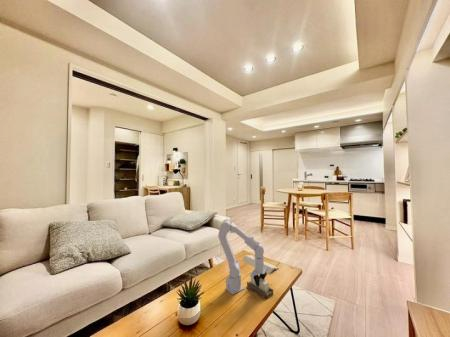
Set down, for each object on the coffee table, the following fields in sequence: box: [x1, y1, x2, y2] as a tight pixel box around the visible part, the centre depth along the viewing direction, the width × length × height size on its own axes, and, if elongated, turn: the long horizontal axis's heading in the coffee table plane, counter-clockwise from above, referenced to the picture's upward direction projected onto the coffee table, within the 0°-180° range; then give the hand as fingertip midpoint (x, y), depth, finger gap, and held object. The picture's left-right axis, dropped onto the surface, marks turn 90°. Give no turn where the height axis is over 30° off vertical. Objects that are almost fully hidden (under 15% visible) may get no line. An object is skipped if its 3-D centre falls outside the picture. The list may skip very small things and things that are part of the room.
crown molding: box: [241, 254, 280, 275], centre depth 154 cm, size 29×12×4 cm, turn 39°
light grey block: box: [250, 277, 270, 294], centre depth 120 cm, size 4×12×6 cm, turn 37°
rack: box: [246, 280, 274, 300], centre depth 120 cm, size 7×16×3 cm, turn 37°
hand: (259, 284), depth 120 cm, fingers closed on light grey block, 3 cm apart
